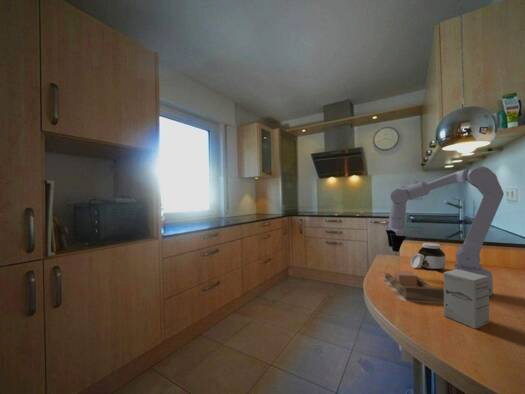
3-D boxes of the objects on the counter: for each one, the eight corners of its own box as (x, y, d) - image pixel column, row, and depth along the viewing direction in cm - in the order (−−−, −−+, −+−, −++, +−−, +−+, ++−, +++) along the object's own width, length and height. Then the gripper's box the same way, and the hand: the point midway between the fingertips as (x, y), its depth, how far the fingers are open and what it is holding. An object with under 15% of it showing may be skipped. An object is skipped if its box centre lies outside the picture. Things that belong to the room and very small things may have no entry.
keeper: (394, 280, 91) (394, 270, 91) (411, 281, 90) (411, 271, 90) (399, 285, 86) (399, 275, 86) (417, 286, 85) (416, 275, 85)
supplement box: (442, 316, 65) (441, 271, 65) (458, 311, 68) (457, 268, 68) (475, 330, 58) (474, 280, 58) (490, 323, 61) (489, 275, 61)
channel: (380, 278, 95) (380, 267, 95) (418, 280, 92) (418, 269, 92) (401, 302, 74) (401, 288, 74) (451, 306, 71) (451, 291, 71)
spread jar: (448, 271, 104) (448, 245, 104) (432, 274, 100) (432, 247, 100) (422, 264, 115) (421, 241, 115) (406, 267, 111) (406, 243, 111)
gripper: (383, 214, 105) (380, 243, 106) (389, 218, 91) (386, 251, 92) (401, 216, 102) (397, 246, 103) (410, 220, 89) (406, 254, 90)
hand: (393, 249), depth 98 cm, fingers open, 7 cm apart
